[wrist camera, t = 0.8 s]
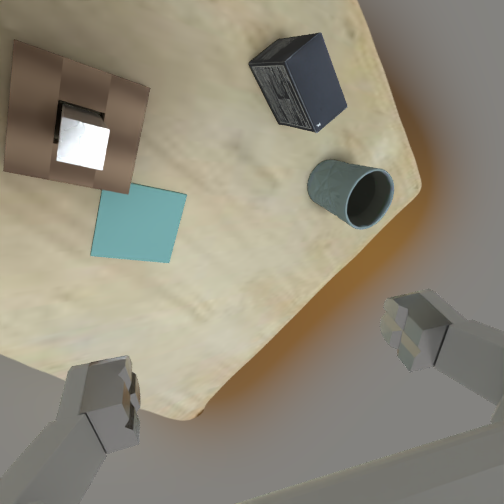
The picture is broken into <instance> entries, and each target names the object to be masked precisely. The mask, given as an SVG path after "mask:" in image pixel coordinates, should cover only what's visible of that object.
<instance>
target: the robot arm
mask: <svg viewBox="0 0 504 504" xmlns="http://www.w3.org/2000/svg"><path fill="white" fill-rule="evenodd" d="M383 308H384V309H385V311H386V313H385V314H384V315H383V316H382V318H381V322H380V328H381V333H382V335H383V337H384V340H385V341H386V342H387V344H388V345H389V346H391V347H393V348H395V349H397V356H398V358H399V359H400V360H401V361H402V363H403V364H404V365H405V366H406V368H407V369H408V370H409V371H410V372H413V371H418V370H422V369H426V368H430V367H434V368H435V369H437V370H438V371H440V372H442V373H443V374H445V375H447V376H448V377H450V378H452V379H453V380H455V381H457V382H459V383H460V384H462V385H464V386H465V387H467V388H468V389H470V390H472V391H473V392H475V393H476V394H478V395H480V396H481V397H483V398H485V399H486V400H488V401H490V402H491V403H493V404H495V405H496V406H497V407H496V409H495V410H494V412H493V414H492V416H491V422H492V424H489V425H486V426H482V427H479V428H476V429H473V430H470V431H466V432H463V433H460V434H456V435H453V436H450V437H447V438H444V439H440V440H437V441H434V442H431V443H428V444H424V445H421V446H418V447H415V448H412V449H409V450H405V451H402V452H399V453H395V454H392V455H389V456H386V457H383V458H379V459H376V460H373V461H370V462H367V463H363V464H360V465H357V466H354V467H351V468H348V469H344V470H341V471H338V472H335V473H332V474H328V475H325V476H322V477H319V478H316V479H312V480H309V481H307V482H303V483H300V484H297V485H293V486H290V487H287V488H284V489H281V490H278V491H274V492H271V493H268V494H265V495H262V496H258V497H255V498H252V499H249V500H246V501H242V502H239V503H236V504H504V332H503V331H501V330H499V329H496V328H493V327H491V326H488V325H485V324H483V323H480V322H477V321H475V320H467V319H466V318H465V317H464V316H462V315H461V314H460V313H459V312H458V311H457V310H455V309H454V308H453V307H452V306H451V305H450V304H448V303H447V302H446V301H445V300H444V299H443V298H441V297H440V296H439V295H438V294H437V293H436V292H435V291H433V290H431V289H426V290H422V291H417V292H414V293H408V294H404V295H400V296H395V297H391V298H387V300H386V301H385V302H384V307H383ZM139 408H140V388H139V383H138V379H137V376H136V374H135V373H133V372H132V362H131V359H130V357H129V356H128V355H126V356H121V357H116V358H111V359H105V360H100V361H95V362H91V363H87V364H81V365H76V366H72V367H71V368H70V370H69V371H68V374H67V378H66V381H65V385H64V389H63V393H62V397H61V401H60V405H59V409H58V413H57V417H56V421H53V422H49V423H48V424H47V426H46V427H45V428H44V429H43V430H42V431H41V432H40V434H39V435H38V436H37V437H36V438H35V439H34V440H33V441H32V443H31V444H30V445H29V446H28V447H27V448H26V449H25V451H24V452H23V453H22V454H21V455H20V456H19V457H18V458H17V460H16V461H15V462H14V463H13V464H12V465H11V466H10V468H9V469H8V470H7V471H6V472H5V473H4V474H3V475H2V477H1V478H0V504H80V502H81V500H82V498H83V497H84V495H85V493H86V491H87V490H88V488H89V486H90V484H91V482H92V481H93V479H94V477H95V476H96V474H97V472H98V470H99V469H100V467H101V465H102V463H103V462H104V460H105V458H106V454H108V453H111V452H115V451H118V450H122V449H125V448H128V447H132V446H135V445H138V444H139V430H140V421H139V418H138V415H137V413H136V412H137V411H138V409H139Z"/></svg>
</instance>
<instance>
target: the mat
mask: <svg viewBox="0 0 504 504" xmlns="http://www.w3.org/2000/svg"><path fill="white" fill-rule="evenodd" d="M186 197H187V195H186V194H183V193H178V192H173V191H168V190H164V189H159V188H154V187H149V186H144V185H139V184H134V183H131V185H130V190H129V194H128V195H127V194H122V193H116V192H111V191H106V190H102V193H101V198H100V204H99V210H98V215H97V221H96V227H95V232H94V238H93V243H92V249H91V256H97V257H108V258H119V259H130V260H141V261H152V262H163V263H169V262H170V258H171V254H172V250H173V246H174V243H175V239H176V235H177V231H178V227H179V224H180V220H181V216H182V212H183V208H184V204H185V201H186Z"/></svg>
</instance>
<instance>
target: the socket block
mask: <svg viewBox="0 0 504 504" xmlns="http://www.w3.org/2000/svg"><path fill="white" fill-rule="evenodd" d="M149 92H150V88H149V87H146V86H144V85H141V84H138V83H135V82H132V81H130V80H127V79H124V78H121V77H118V76H116V75H113V74H110V73H107V72H104V71H102V70H99V69H96V68H93V67H91V66H88V65H85V64H82V63H79V62H77V61H74V60H71V59H68V58H65V57H63V56H60V55H57V54H54V53H51V52H49V51H46V50H43V49H40V48H37V47H35V46H32V45H29V44H26V43H23V42H21V41H18V40H15V39H14V44H13V56H12V69H11V82H10V94H9V107H8V119H7V132H6V145H5V157H4V170H3V171H4V172H10V173H15V174H20V175H26V176H31V177H36V178H42V179H47V180H52V181H58V182H63V183H68V184H74V185H79V186H84V187H90V188H95V189H100V190H106V191H111V192H116V193H122V194H127V195H128V194H129V190H130V185H131V180H132V175H133V170H134V165H135V160H136V155H137V150H138V146H139V141H140V136H141V131H142V126H143V121H144V116H145V111H146V107H147V102H148V97H149ZM58 100H62V101H65V102H69V103H72V104H75V105H79V106H82V107H85V108H89V109H92V110H95V111H99V112H102V113H103V114H102V120H103V121H104V123H105V124H106V125H107V127H108V128H109V136H108V142H107V148H106V153H105V159H104V165H103V170H98V169H94V168H89V167H84V166H80V165H75V164H70V163H66V162H61V161H56V160H57V149H58V140H56V139H54V131H55V123H56V115H57V107H58Z"/></svg>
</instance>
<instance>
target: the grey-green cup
mask: <svg viewBox="0 0 504 504" xmlns="http://www.w3.org/2000/svg"><path fill="white" fill-rule="evenodd" d="M307 185H308V193H309V195H310V197H311V199H312V200H313V201H314V202H315V203H317V204H319V205H320V206H322V207H324V208H325V209H326V210H328V211H330V212H331V213H332V214H334V215H337V217H338V218H340V219H341V220H343V221H345V222H346V223H347V224H349V225H350V226H352V227H353V228H355V229H367V228H369V227H371V226H373V225H375V224H376V223H377V222H378V221H380V220H381V219H382V217H383V216H384V215H385V213H386V212H387V210H388V208H389V207H390V204H391V202H392V199H393V194H394V183H393V180H392V177H391V176H390V174H389V173H388V172H387V171H385V170H383V169H379V168H373V167H366V166H360V165H354V164H348V163H345V162H341V161H336V160H326V161H323V162H321V163H320V164H318V165H317V166H316V167H315V168H314V170H313V171H312V173H311V174H310V177H309V180H308V183H307Z"/></svg>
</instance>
